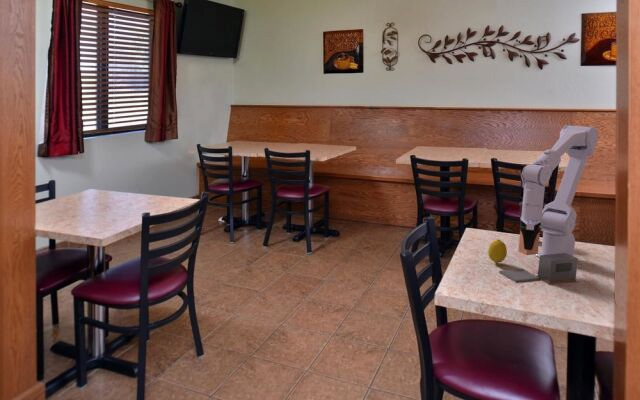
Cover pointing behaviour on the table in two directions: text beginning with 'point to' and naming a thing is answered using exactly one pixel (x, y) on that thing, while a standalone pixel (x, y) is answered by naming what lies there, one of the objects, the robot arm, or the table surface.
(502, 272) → the mat
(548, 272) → the parts unit
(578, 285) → the table surface
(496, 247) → the lemon
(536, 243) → the terracotta block
